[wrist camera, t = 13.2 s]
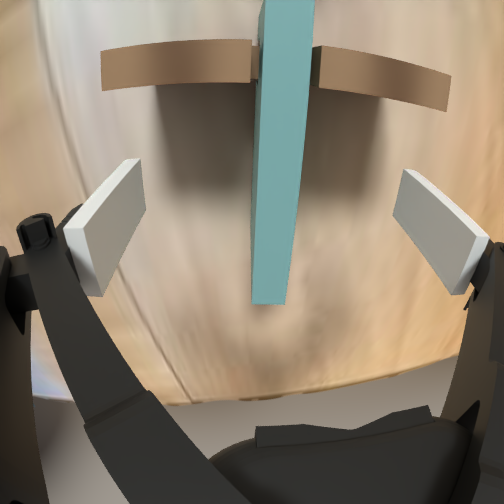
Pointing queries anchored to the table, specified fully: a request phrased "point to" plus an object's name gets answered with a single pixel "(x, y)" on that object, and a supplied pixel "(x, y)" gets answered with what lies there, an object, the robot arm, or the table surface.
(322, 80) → the walnut plate
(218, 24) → the table surface
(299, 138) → the teal plate
